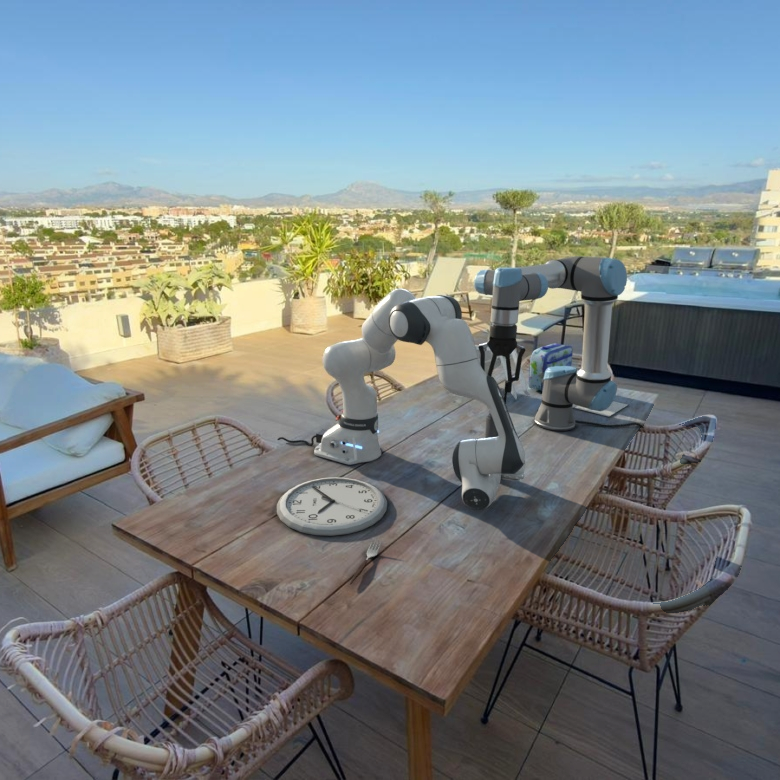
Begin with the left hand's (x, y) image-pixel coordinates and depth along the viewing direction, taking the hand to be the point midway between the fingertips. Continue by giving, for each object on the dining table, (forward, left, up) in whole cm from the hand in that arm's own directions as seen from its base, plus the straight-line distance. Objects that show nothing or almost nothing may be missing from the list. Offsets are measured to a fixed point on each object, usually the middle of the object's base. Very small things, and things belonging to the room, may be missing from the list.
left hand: (493, 455), depth 161 cm
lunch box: (+12, +103, -6) cm, 104 cm away
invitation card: (+35, +82, -6) cm, 89 cm away
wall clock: (-38, -35, -6) cm, 52 cm away
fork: (-20, -57, -6) cm, 60 cm away
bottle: (0, -1, -6) cm, 6 cm away
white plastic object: (-18, +83, -6) cm, 85 cm away
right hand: (0, -1, +18) cm, 18 cm away
